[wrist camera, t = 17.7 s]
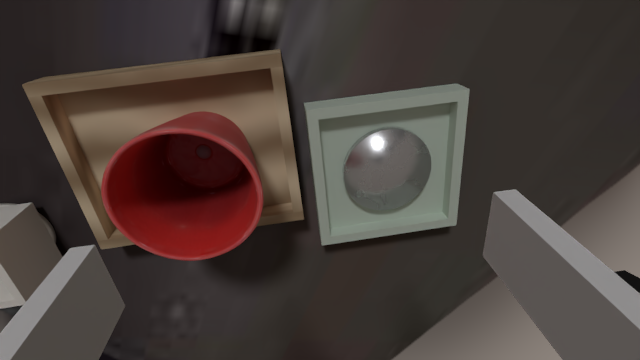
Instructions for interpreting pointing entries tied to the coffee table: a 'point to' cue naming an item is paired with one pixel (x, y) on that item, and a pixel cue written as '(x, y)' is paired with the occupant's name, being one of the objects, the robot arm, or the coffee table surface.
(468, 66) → the coffee table surface
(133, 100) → the wooden tray
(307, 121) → the pale green square tray
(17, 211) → the white faceted planter
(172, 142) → the flower pot
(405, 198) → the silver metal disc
